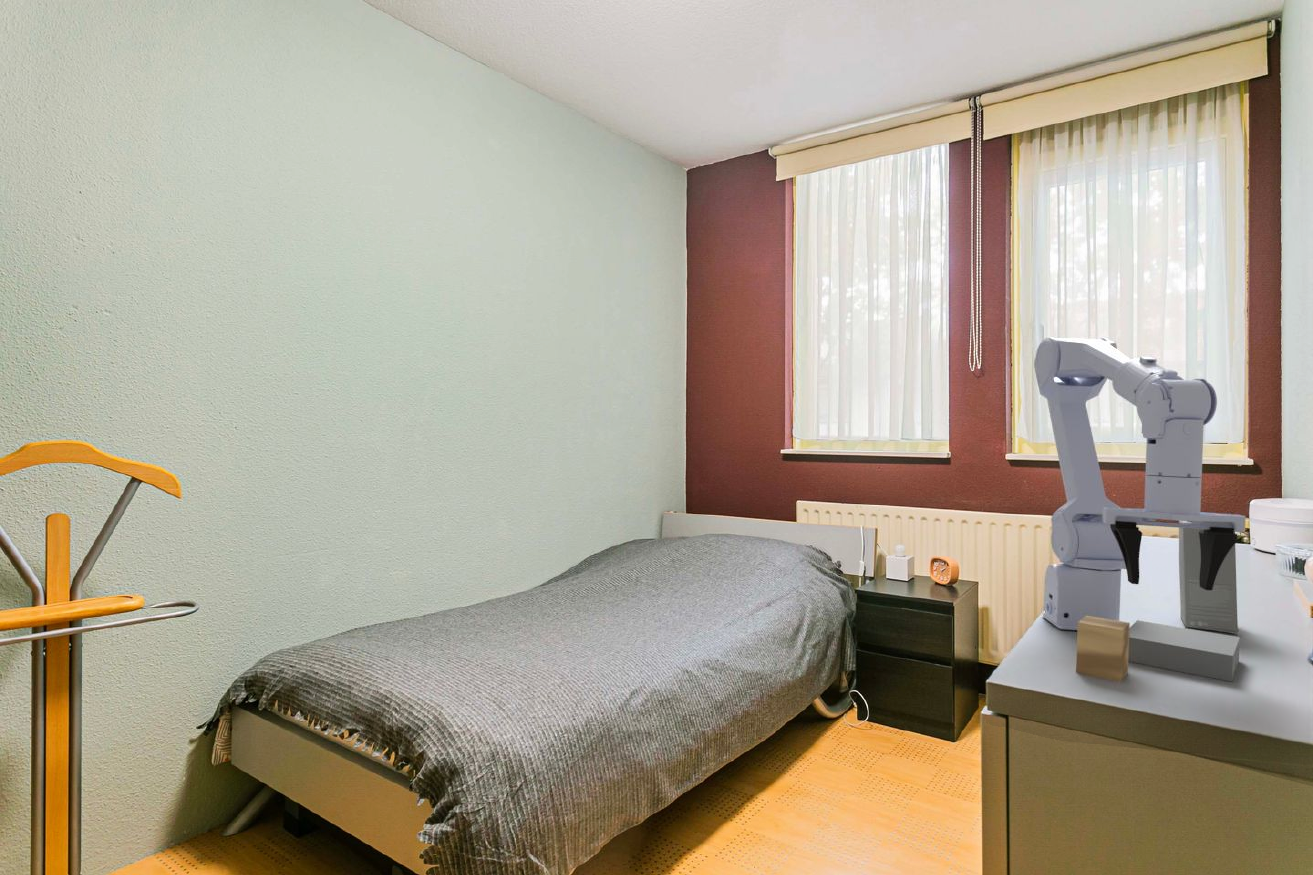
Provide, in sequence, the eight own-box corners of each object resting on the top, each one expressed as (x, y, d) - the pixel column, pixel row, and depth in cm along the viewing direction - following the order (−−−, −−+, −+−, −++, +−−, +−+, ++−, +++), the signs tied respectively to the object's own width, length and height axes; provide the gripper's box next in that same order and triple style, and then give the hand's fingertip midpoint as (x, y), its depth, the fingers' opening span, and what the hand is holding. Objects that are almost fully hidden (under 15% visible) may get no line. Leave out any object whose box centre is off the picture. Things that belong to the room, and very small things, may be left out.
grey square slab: (1231, 681, 85) (1232, 655, 85) (1120, 659, 92) (1121, 635, 92) (1238, 660, 93) (1239, 637, 93) (1136, 642, 100) (1137, 620, 100)
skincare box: (1238, 635, 105) (1243, 525, 105) (1177, 627, 109) (1181, 520, 109) (1230, 623, 113) (1235, 520, 112) (1173, 615, 116) (1177, 515, 116)
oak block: (1120, 682, 84) (1122, 629, 84) (1076, 672, 87) (1077, 622, 87) (1127, 673, 87) (1129, 622, 87) (1084, 664, 90) (1086, 615, 90)
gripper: (1113, 475, 90) (1109, 585, 90) (1258, 481, 85) (1253, 598, 85) (1100, 472, 96) (1096, 575, 96) (1233, 477, 91) (1229, 586, 91)
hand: (1169, 585), depth 91 cm, fingers open, 7 cm apart
